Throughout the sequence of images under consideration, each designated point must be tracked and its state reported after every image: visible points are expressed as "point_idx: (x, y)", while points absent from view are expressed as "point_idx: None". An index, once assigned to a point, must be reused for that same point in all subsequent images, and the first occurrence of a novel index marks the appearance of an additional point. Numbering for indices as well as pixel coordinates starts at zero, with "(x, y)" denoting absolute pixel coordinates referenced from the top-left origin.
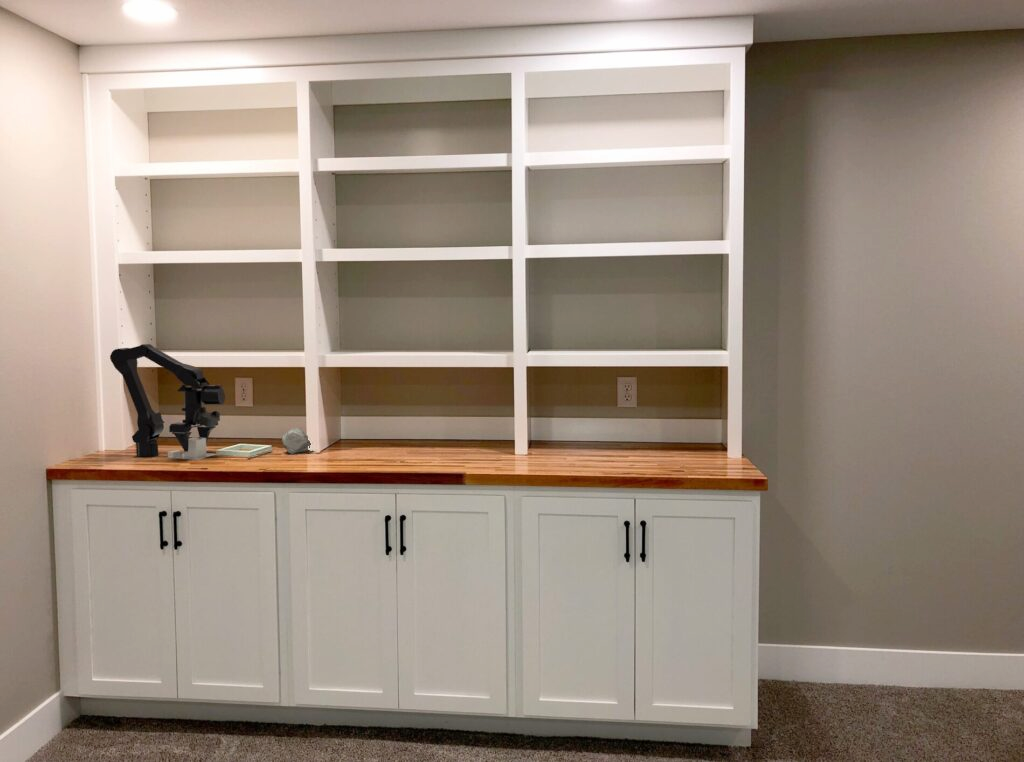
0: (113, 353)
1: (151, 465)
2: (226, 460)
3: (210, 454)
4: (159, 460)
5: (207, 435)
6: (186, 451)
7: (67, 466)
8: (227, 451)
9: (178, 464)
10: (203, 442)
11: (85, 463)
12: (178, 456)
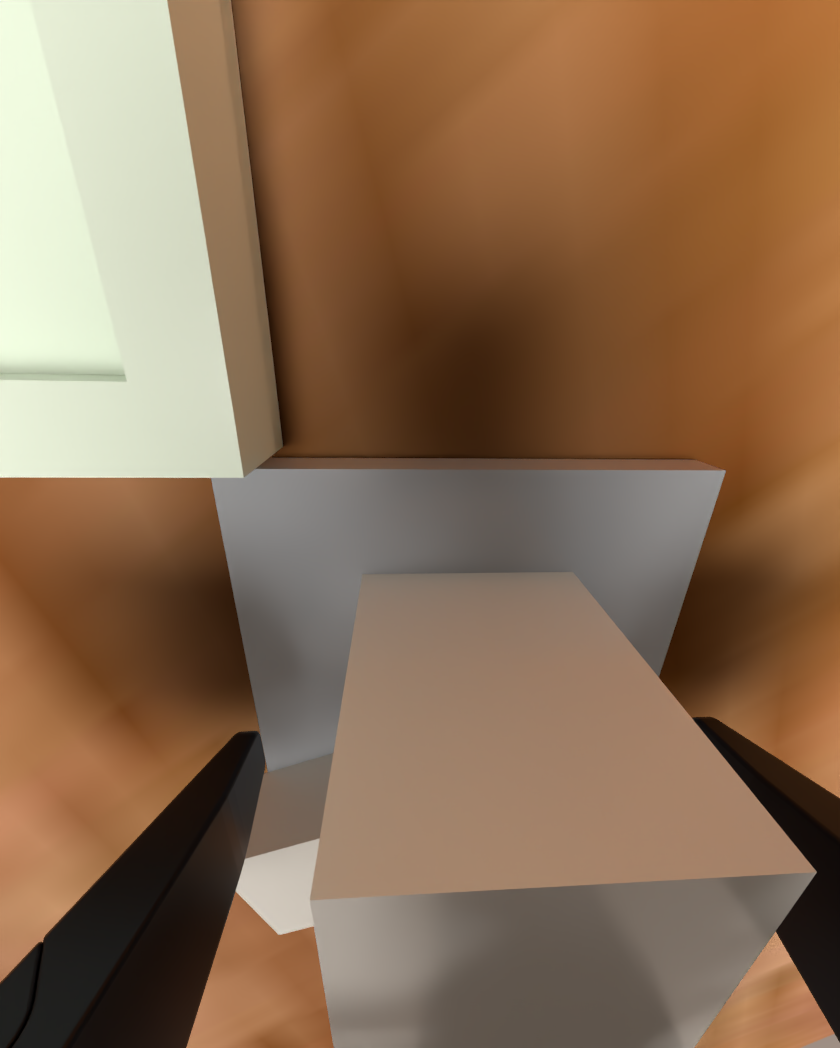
0: None
1: (823, 771)
2: (461, 40)
3: (308, 546)
4: None
5: (32, 1044)
6: (711, 725)
7: (796, 1040)
8: (194, 123)
9: (800, 600)
10: (437, 758)
11: (717, 1035)
12: None
